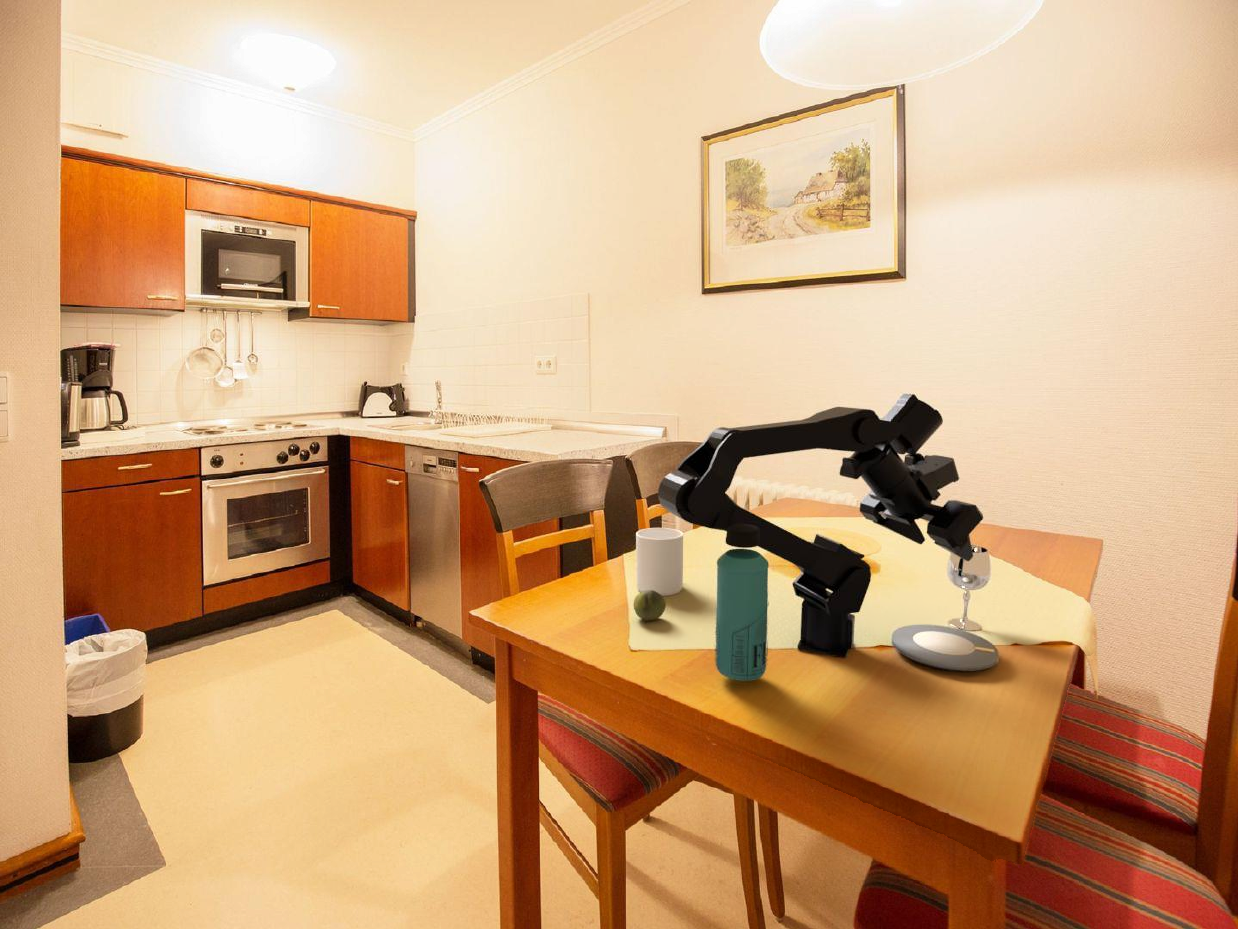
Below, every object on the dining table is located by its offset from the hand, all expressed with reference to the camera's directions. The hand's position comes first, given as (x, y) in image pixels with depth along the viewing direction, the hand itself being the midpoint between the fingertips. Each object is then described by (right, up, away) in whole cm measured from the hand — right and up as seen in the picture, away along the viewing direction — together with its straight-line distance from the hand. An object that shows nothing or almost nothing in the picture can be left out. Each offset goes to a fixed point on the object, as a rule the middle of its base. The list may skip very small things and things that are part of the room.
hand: (945, 550), depth 96 cm
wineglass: (+5, -12, +3) cm, 13 cm away
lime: (-43, -12, +6) cm, 45 cm away
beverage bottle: (-33, -15, -14) cm, 39 cm away
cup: (-41, -10, +22) cm, 47 cm away
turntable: (-4, -13, -7) cm, 16 cm away
